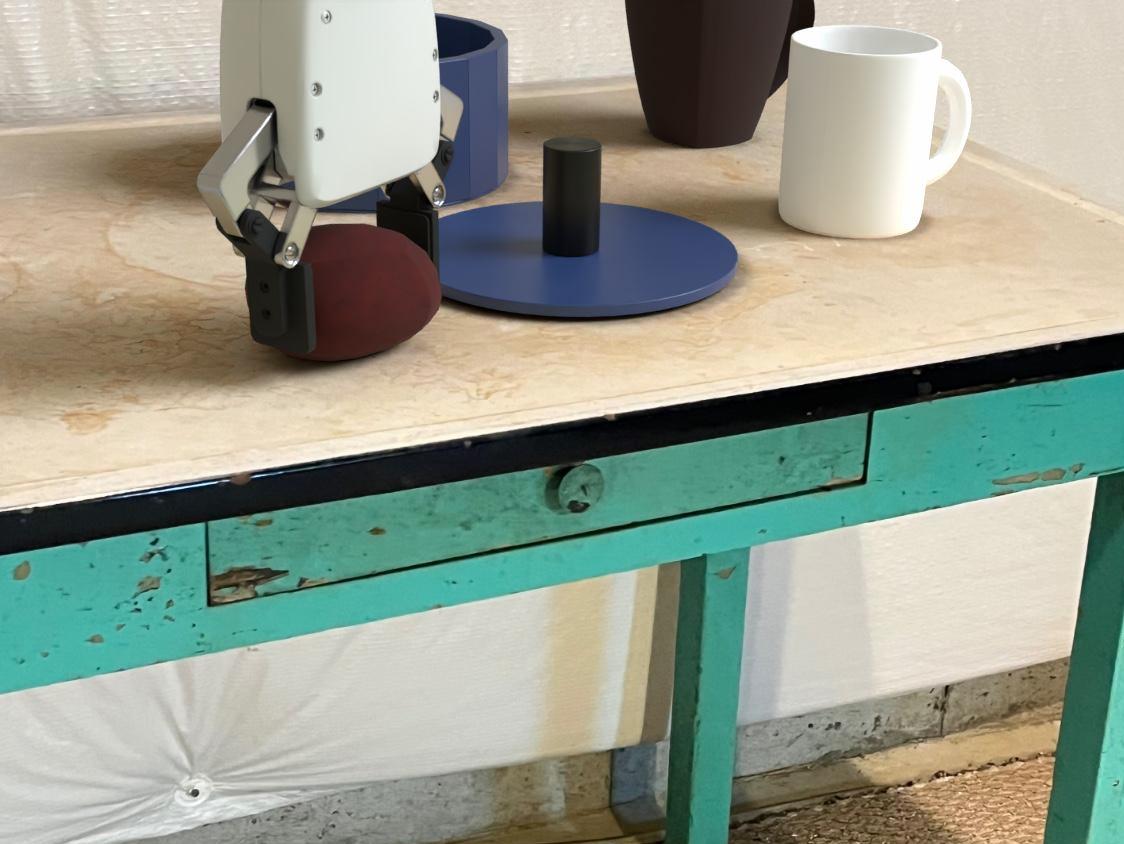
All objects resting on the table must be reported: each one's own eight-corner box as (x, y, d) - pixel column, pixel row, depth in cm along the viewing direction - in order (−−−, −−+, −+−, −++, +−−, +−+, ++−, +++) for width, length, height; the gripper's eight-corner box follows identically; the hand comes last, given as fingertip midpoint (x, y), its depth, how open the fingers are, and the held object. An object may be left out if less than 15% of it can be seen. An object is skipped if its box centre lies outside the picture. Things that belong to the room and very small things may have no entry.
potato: (244, 330, 81) (235, 205, 78) (432, 320, 83) (430, 198, 80) (255, 390, 74) (245, 257, 71) (457, 378, 76) (456, 248, 73)
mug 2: (916, 190, 105) (937, 16, 100) (1001, 228, 98) (1028, 44, 93) (750, 211, 100) (762, 30, 95) (827, 252, 93) (845, 59, 88)
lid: (334, 284, 87) (327, 153, 83) (519, 203, 100) (519, 88, 97) (634, 355, 79) (639, 214, 76) (791, 257, 93) (801, 133, 89)
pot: (172, 188, 101) (158, 41, 97) (347, 131, 114) (340, -2, 110) (399, 237, 94) (394, 80, 90) (558, 170, 107) (560, 30, 103)
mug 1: (596, 134, 115) (600, -54, 109) (748, 108, 122) (760, -69, 116) (691, 168, 108) (702, -31, 102) (846, 138, 115) (864, -49, 110)
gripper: (383, -117, 77) (395, 253, 86) (108, -75, 64) (154, 357, 73) (523, -102, 74) (520, 281, 82) (263, -54, 61) (292, 395, 69)
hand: (349, 315), depth 77 cm, fingers closed on potato, 8 cm apart
